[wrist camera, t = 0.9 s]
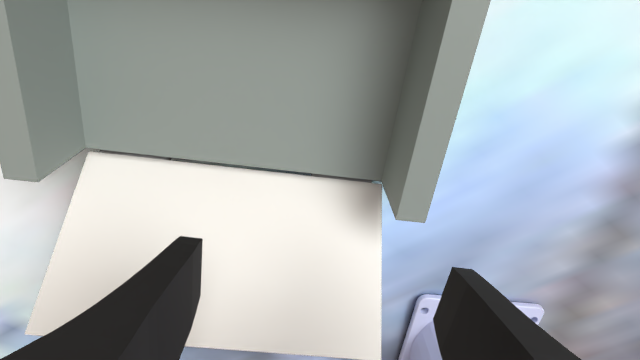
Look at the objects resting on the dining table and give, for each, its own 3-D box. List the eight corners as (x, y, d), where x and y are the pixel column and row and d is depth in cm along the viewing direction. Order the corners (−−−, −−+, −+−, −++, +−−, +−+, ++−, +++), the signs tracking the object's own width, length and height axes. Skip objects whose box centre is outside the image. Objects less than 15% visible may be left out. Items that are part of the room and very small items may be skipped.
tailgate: (375, 360, 17) (381, 360, 16) (37, 335, 16) (24, 334, 15) (376, 182, 21) (381, 175, 20) (99, 151, 20) (91, 141, 19)
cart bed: (399, 171, 20) (425, 222, 16) (75, 133, 19) (3, 178, 15) (462, -86, 16) (524, -116, 11) (35, -160, 14) (-89, -227, 10)
